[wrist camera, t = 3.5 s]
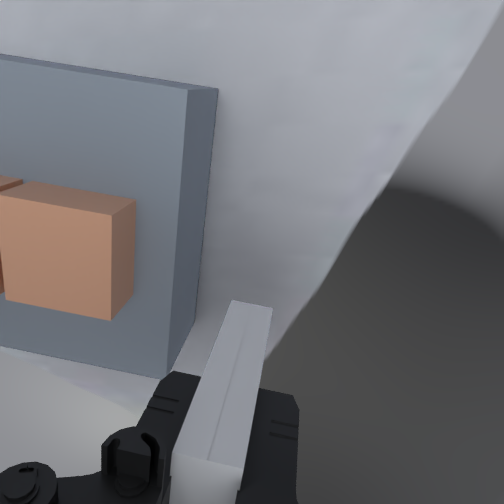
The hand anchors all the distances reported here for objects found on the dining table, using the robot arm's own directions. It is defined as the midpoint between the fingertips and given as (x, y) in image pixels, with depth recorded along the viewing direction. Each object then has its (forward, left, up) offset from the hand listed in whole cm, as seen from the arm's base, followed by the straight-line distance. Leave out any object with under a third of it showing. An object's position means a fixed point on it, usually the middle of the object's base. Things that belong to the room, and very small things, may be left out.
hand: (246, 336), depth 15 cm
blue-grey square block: (-11, 0, -11) cm, 16 cm away
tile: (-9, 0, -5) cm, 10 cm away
